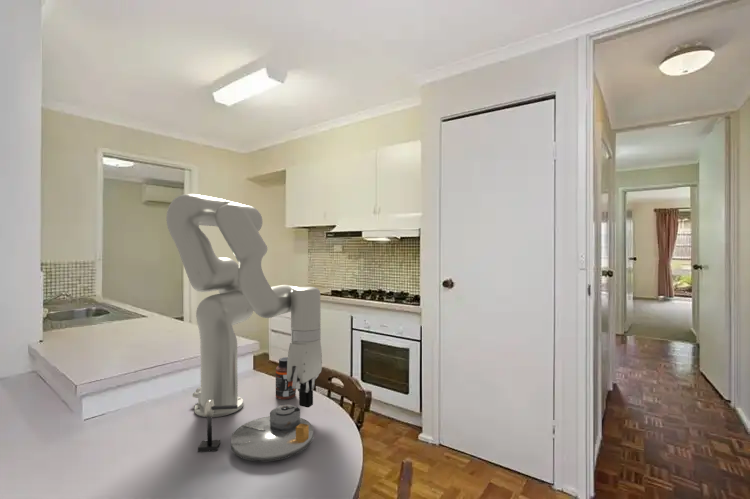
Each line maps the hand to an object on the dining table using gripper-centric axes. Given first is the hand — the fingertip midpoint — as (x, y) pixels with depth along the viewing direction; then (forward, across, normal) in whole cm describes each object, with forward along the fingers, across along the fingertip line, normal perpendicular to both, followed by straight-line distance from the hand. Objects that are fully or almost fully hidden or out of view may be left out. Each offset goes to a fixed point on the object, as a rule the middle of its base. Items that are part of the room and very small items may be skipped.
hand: (306, 405), depth 101 cm
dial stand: (+4, +19, -10) cm, 22 cm away
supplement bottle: (+4, -11, -14) cm, 18 cm away
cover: (+1, +9, 0) cm, 9 cm away
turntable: (+3, +13, 0) cm, 14 cm away
